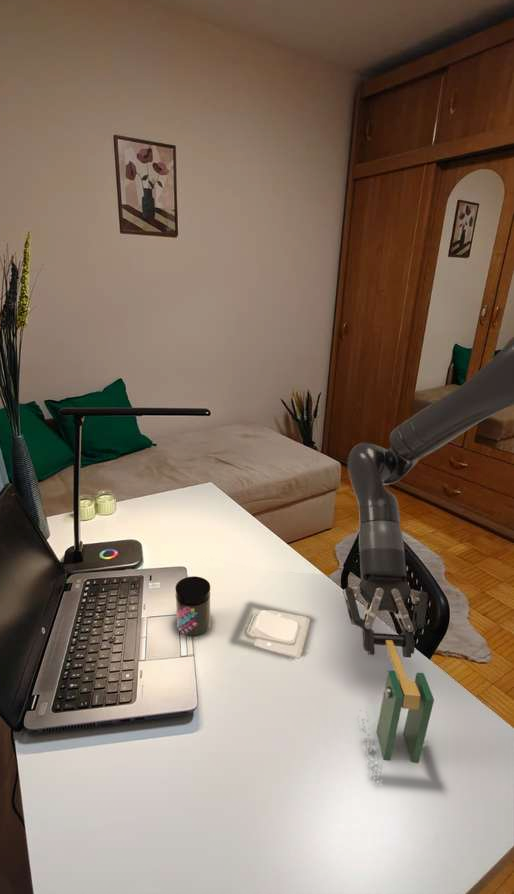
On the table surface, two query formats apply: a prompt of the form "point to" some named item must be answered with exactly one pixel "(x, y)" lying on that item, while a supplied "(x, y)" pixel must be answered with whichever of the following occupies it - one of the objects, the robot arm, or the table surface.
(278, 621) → the light switch
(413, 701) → the lever
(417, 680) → the bracket
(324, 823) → the table surface
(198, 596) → the supplement container
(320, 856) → the table surface
